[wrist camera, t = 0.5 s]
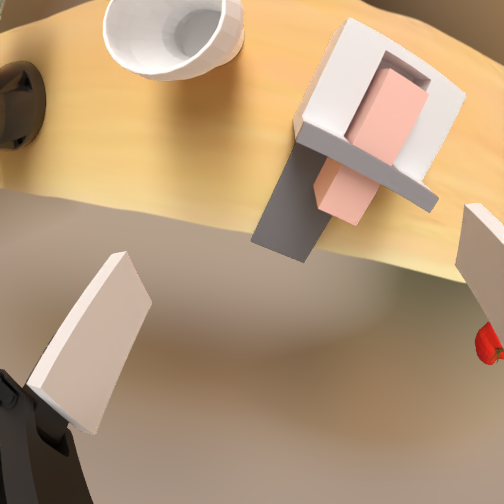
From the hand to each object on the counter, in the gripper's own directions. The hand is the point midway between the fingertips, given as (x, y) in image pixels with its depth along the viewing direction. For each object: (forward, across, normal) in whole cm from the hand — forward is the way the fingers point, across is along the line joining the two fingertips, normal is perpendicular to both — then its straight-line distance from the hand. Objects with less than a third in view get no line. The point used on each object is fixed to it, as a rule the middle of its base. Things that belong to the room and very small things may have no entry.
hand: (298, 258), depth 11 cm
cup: (+27, -6, +13) cm, 30 cm away
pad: (+26, 0, -10) cm, 28 cm away
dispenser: (+26, +10, +2) cm, 28 cm away
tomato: (+25, +38, -42) cm, 62 cm away
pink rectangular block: (+21, +7, -1) cm, 23 cm away
